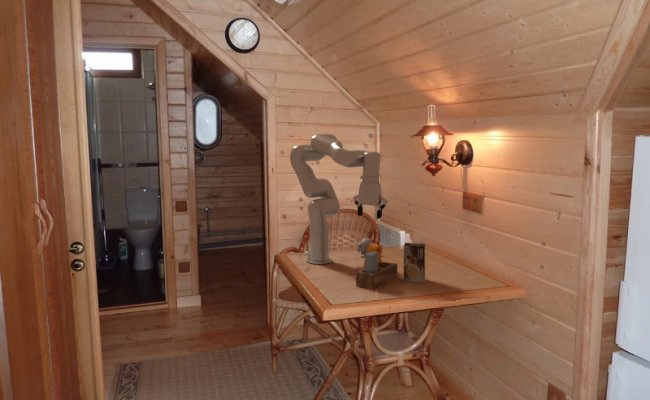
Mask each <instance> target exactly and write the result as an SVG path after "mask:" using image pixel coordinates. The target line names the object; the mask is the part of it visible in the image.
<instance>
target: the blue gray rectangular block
mask: <svg viewBox="0 0 650 400" xmlns="http://www.w3.org/2000/svg"><path fill="white" fill-rule="evenodd" d="M364 261H365V273H371V274H374V273H376V272H377V271H378V252H370V253H368V254H365V258H364Z"/></svg>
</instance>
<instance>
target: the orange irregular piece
mask: <svg viewBox="0 0 650 400" xmlns="http://www.w3.org/2000/svg"><path fill="white" fill-rule="evenodd" d="M370 252H378V262H379V261H382V262H384V261H383V260H382V256H381V255H382V253H383V246H382V245H381V244H378V243H374V242H373V243H371V244H370V245H369V246H368V249H367V253H366V254H368V253H370ZM364 268H365V260H364V262H363V269H364Z"/></svg>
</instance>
